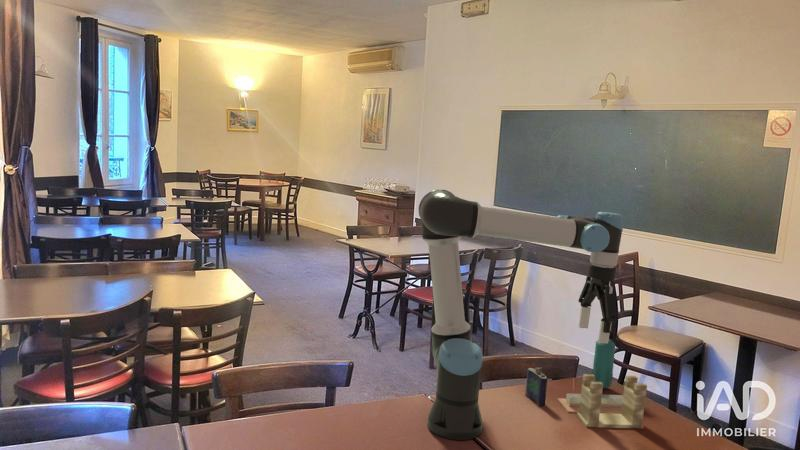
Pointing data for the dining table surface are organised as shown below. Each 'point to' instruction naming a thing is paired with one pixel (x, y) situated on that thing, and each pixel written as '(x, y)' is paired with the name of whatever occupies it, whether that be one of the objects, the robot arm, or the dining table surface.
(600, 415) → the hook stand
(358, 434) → the dining table surface
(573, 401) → the rail
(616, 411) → the mat
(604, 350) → the beverage bottle
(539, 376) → the flask
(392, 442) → the dining table surface
